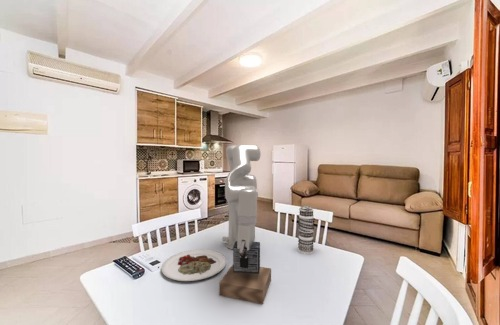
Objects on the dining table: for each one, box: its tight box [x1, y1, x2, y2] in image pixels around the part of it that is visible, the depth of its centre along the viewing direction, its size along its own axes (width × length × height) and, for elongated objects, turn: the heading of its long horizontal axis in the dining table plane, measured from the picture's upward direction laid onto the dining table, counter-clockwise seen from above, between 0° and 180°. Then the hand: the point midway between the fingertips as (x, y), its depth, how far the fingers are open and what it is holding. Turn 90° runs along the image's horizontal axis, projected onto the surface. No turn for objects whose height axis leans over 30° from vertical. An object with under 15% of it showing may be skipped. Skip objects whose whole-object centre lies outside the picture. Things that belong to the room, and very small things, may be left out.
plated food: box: [160, 249, 227, 282], centre depth 104 cm, size 30×30×3 cm
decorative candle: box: [297, 205, 316, 255], centre depth 122 cm, size 9×9×25 cm
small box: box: [232, 241, 261, 274], centre depth 87 cm, size 11×6×10 cm, turn 84°
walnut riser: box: [218, 264, 272, 305], centre depth 87 cm, size 17×16×5 cm
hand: (247, 262), depth 87 cm, fingers closed on small box, 7 cm apart
